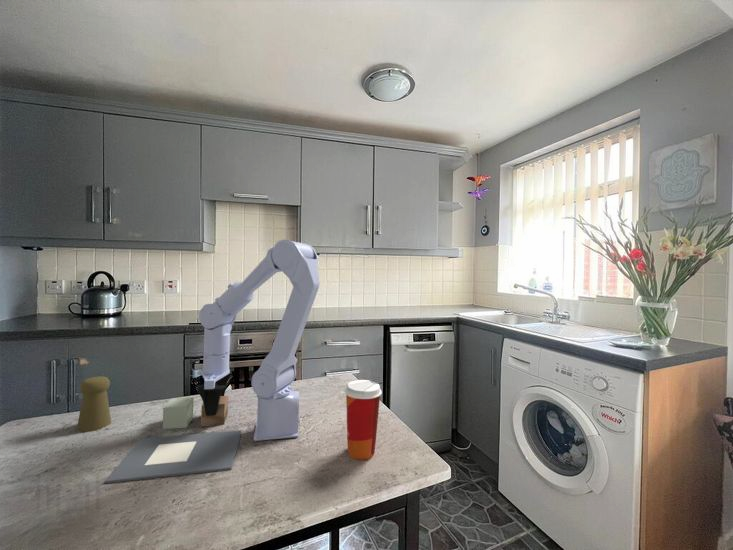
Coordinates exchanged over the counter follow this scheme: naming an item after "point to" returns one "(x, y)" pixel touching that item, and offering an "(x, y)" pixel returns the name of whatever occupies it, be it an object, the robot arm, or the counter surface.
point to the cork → (94, 404)
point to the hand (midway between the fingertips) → (214, 407)
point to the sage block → (178, 413)
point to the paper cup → (362, 417)
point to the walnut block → (220, 414)
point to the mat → (178, 456)
